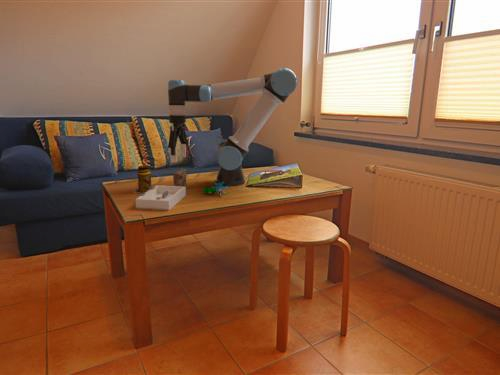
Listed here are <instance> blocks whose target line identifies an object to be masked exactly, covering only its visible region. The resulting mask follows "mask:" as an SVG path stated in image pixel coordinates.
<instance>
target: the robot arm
mask: <svg viewBox="0 0 500 375" xmlns="http://www.w3.org/2000/svg"><path fill="white" fill-rule="evenodd" d="M167 83H168V85H167V96H168V107H167V109H168V113H169V114H170V115H168V120H169V124H172V125H170V127H169V138H168V146H167V148H168V149H169V150H170V163H177V162H178V151H177V149H178V148H177V143H178V140H179V143H180V144H179V153H180V154H179V157H180V158H186V157H187V144H188V138H187V133H186V124H185V123H186V121H187V120H186V119H187V118H186V102H190V103H191V102H193V103H210V102H211V101H214V100H221V99H229V98H238V97H245V96H252V95H260V94H262V95H261V96H260V98H259V99H258V100H257V101H256V103H255V105H254V106H253V108H252V109H251V111H250V112H249V113H248V114H247V116H246V117H245V119H244V120H243V121H242V123H241V124H240V126H238V129H237V130H236V132H235V133H234V134H233V135H231V136H228V138H227V139H223V138H222V139H219V142H218V143H219V144H218V148H219V150H218V151H217V154H216V160H217V163H218V165H219V169H218V172H217V174H216V179H215V180H216V181H215V183H217V184H218V185H219V182H220V184H221V183H222V182H225V183H223V184H222V185H221V186H224V187H226V186H227V185H228V187H232V186H235V187H236V186H241V185H243V184H245V183H246V180H245V175H244V172H243V168H242V162H243V160H244V158H245V157H246V155H248V152H249V150H250V149H249V146H250V144H251V143H252V142H253V140H254V139H255V138H256V136H257V135H258V133H259V132H260V131H261V129H262V128H263V126H264V125H265V123H266V122H267V121H268V119H269V118H270V117H271V115H272V114H273V112H274V111H275V110H276V108H277V107H278V106H279V105H282V104H284V103H285V101H286V100H287V99H288V97H290V95H291V94H292V93H294V92H295V90H296V89H297V85H298V78H297V76H296V74H295V73H294V71H293V70H291V69H290V68H286V67H281V68H278V69H276V70H275V71H273V72H271V73H267V74H262V75H261V77H255V78H254V77H253V78H247V79H240V80H239V79H238V80H232V81H226V82H225V81H224V82H219V83H218V82H217V83H211V84H201V85H200V84H186V82H185V80H184V79H183V80H181V79H170V80H168V82H167Z"/></svg>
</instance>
